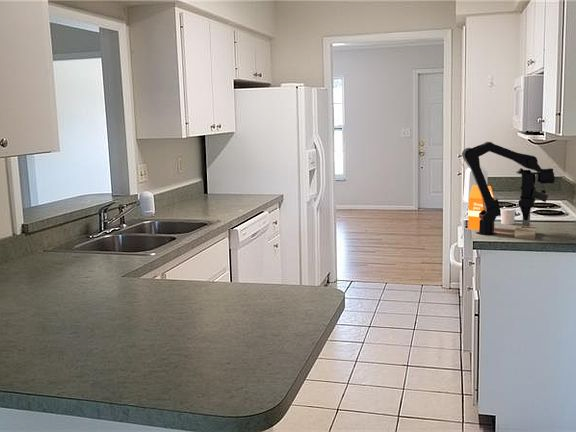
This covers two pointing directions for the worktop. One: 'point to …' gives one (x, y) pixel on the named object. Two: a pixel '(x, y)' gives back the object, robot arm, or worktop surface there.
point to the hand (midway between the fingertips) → (526, 219)
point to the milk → (471, 182)
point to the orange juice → (475, 207)
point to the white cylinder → (507, 216)
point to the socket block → (525, 232)
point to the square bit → (526, 221)
